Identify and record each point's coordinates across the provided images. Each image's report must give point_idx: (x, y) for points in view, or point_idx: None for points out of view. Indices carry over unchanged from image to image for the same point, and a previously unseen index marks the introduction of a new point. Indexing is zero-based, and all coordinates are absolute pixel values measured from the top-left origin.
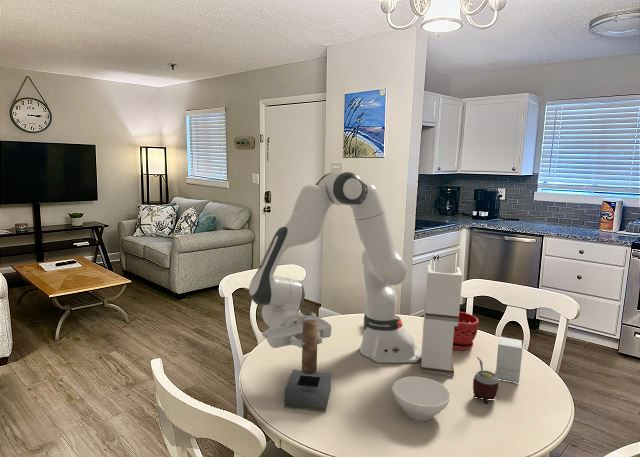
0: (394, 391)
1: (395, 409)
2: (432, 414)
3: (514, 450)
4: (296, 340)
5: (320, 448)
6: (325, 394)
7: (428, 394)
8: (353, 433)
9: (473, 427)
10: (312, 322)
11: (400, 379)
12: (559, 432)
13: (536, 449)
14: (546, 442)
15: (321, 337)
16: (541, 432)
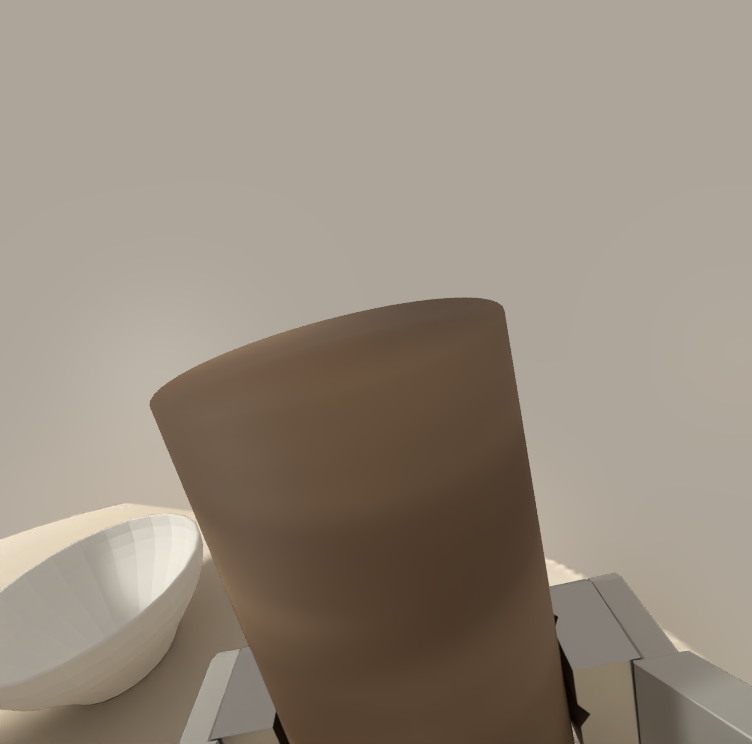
0: (124, 649)
1: (158, 702)
2: (164, 554)
3: (147, 507)
4: (705, 670)
5: (547, 566)
6: None
7: (17, 665)
8: None
9: None
10: (295, 347)
11: (20, 682)
12: (26, 531)
13: (118, 505)
14: (81, 515)
15: (211, 661)
16: (45, 535)
